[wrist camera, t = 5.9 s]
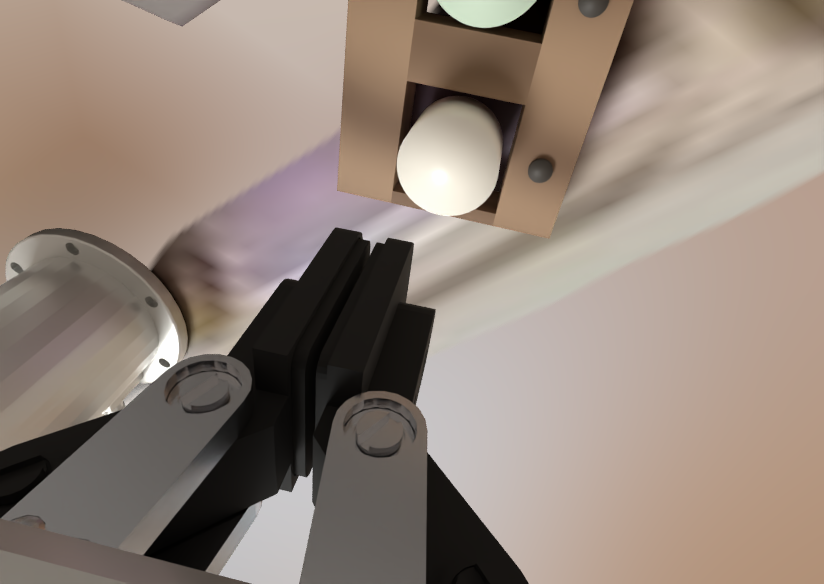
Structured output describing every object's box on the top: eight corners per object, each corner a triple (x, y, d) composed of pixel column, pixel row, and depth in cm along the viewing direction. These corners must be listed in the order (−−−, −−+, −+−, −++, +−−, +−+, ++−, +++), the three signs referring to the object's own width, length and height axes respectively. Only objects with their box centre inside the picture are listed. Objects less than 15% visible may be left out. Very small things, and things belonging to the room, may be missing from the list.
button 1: (490, 194, 23) (485, 225, 20) (407, 175, 23) (391, 204, 21) (513, 106, 21) (510, 128, 18) (420, 87, 21) (403, 106, 18)
